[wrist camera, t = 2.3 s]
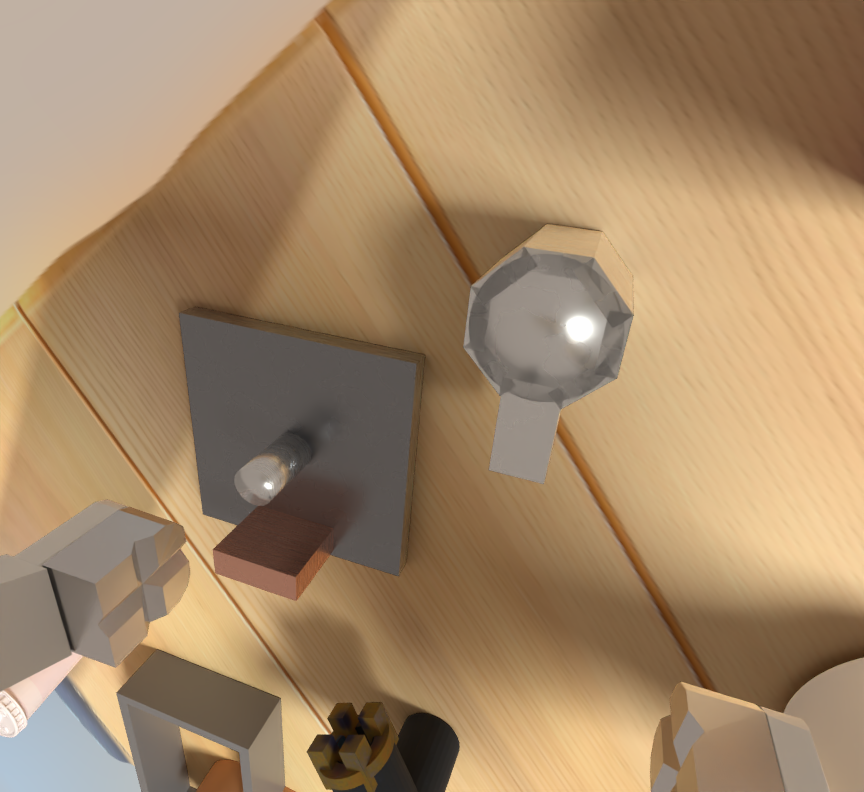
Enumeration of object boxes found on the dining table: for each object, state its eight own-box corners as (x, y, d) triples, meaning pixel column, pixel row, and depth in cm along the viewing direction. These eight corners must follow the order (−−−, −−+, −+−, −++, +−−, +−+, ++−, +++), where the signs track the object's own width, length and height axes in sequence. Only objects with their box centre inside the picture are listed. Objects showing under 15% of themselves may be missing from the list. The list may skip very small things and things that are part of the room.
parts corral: (280, 698, 51) (248, 749, 47) (287, 836, 62) (261, 888, 57) (157, 649, 55) (116, 692, 50) (183, 787, 65) (152, 833, 61)
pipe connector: (363, 650, 46) (247, 833, 32) (418, 646, 43) (316, 842, 30) (415, 760, 48) (325, 975, 34) (469, 761, 45) (396, 993, 32)
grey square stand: (425, 354, 32) (381, 399, 26) (406, 562, 39) (368, 631, 34) (195, 306, 36) (114, 336, 30) (215, 503, 43) (153, 556, 37)
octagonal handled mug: (643, 236, 26) (647, 265, 20) (594, 427, 31) (585, 497, 25) (510, 218, 28) (476, 239, 21) (482, 402, 32) (448, 462, 26)
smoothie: (104, 623, 56) (-42, 756, 44) (108, 663, 59) (-27, 797, 47) (53, 598, 57) (-102, 720, 45) (60, 638, 60) (-84, 763, 48)
